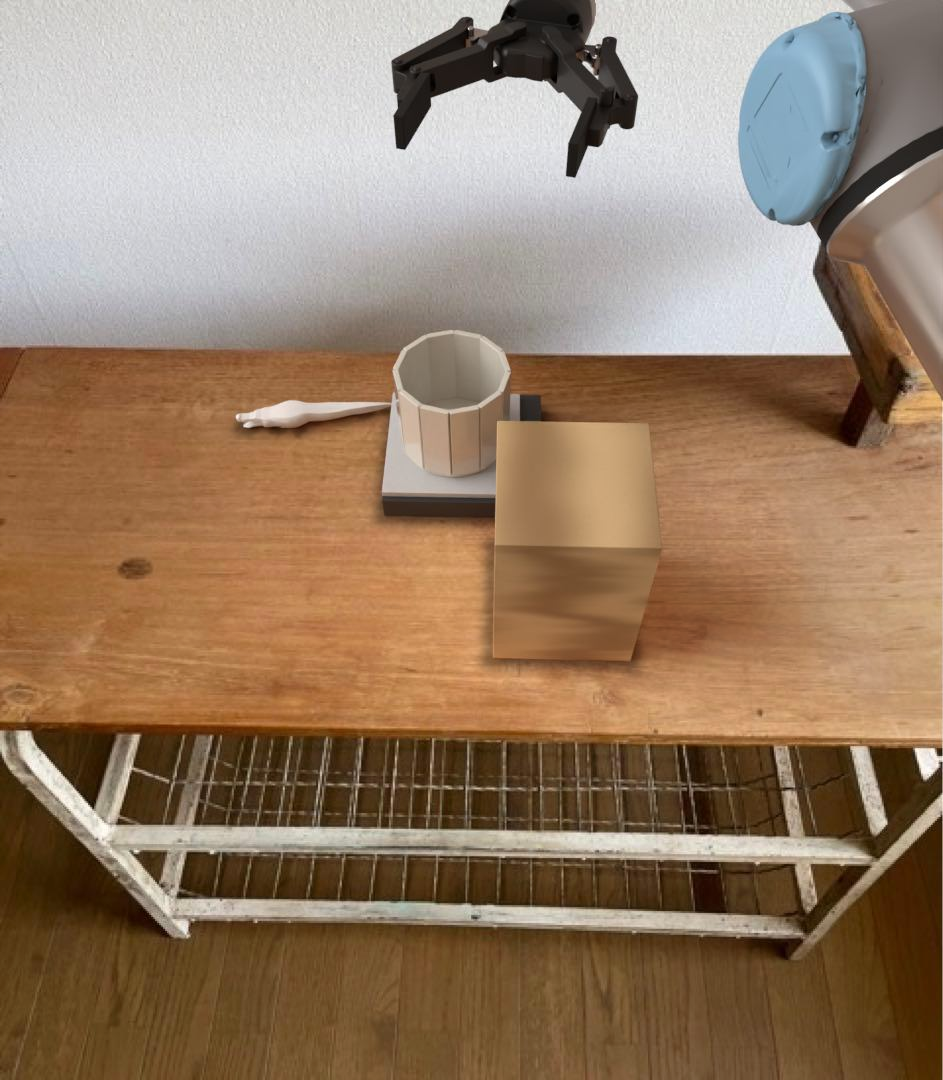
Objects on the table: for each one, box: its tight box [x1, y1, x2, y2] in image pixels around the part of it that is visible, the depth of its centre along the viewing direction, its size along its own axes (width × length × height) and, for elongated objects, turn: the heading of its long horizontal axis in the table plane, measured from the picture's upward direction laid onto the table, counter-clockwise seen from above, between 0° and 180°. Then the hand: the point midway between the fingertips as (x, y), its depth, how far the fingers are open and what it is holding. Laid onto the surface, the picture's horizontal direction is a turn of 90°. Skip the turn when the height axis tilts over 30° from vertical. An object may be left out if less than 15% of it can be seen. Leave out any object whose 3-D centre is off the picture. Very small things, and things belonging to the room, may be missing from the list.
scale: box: [381, 391, 542, 519], centre depth 84 cm, size 14×13×3 cm
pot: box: [392, 329, 512, 477], centre depth 79 cm, size 10×10×8 cm
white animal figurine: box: [235, 399, 392, 429], centre depth 87 cm, size 15×3×2 cm, turn 98°
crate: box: [492, 421, 663, 662], centre depth 70 cm, size 11×11×16 cm
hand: (483, 147), depth 69 cm, fingers open, 13 cm apart
